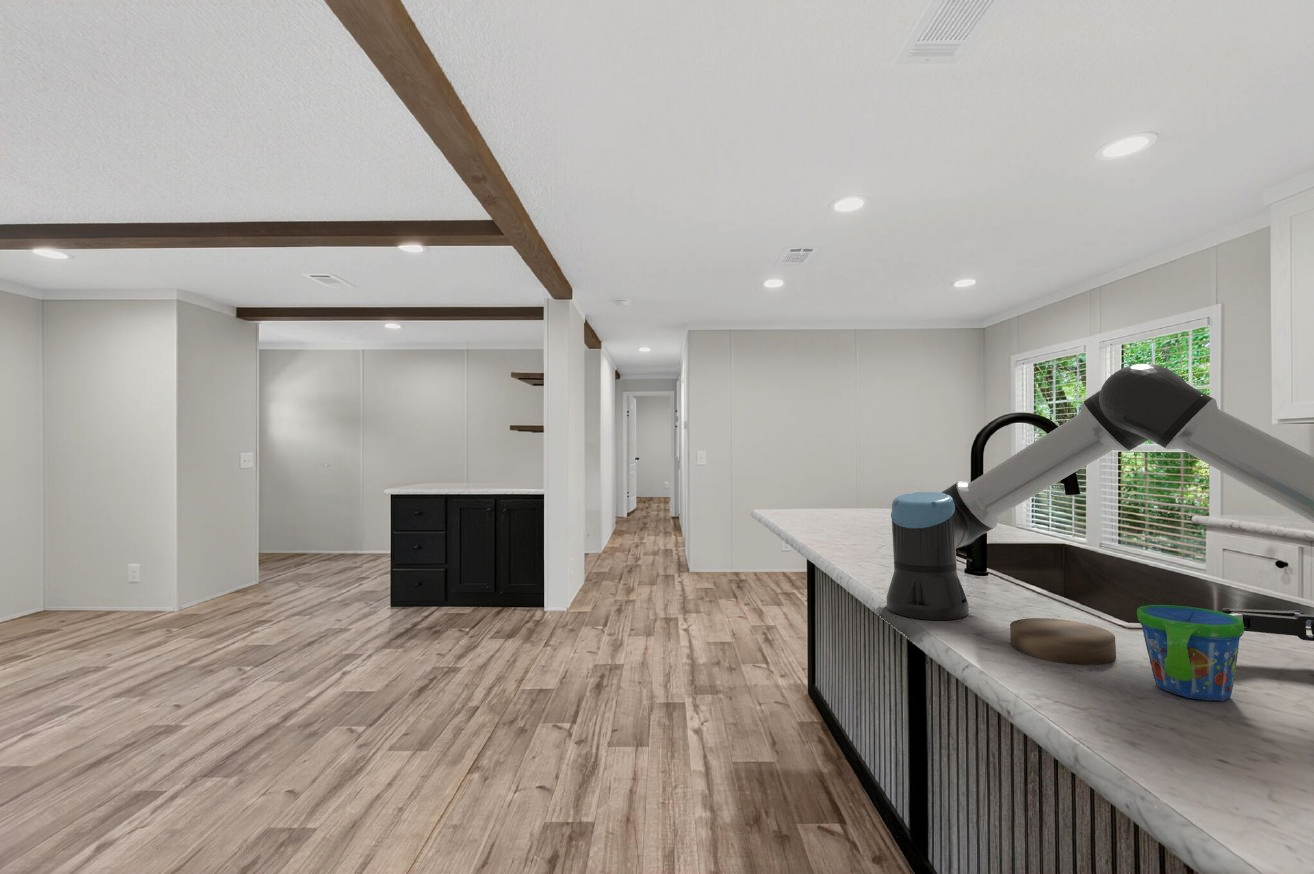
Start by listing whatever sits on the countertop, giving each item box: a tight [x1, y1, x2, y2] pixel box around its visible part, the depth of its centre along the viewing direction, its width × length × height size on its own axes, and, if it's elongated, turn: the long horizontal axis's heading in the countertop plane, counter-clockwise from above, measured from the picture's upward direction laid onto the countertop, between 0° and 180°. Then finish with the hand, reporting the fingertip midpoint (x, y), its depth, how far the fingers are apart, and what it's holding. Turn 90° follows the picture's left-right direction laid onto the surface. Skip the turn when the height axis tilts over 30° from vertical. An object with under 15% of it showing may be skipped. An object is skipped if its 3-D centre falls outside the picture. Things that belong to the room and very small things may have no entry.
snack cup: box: [1136, 604, 1245, 702], centre depth 78 cm, size 16×10×10 cm
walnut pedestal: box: [1009, 617, 1117, 666], centre depth 96 cm, size 14×14×3 cm
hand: (1254, 641), depth 80 cm, fingers open, 13 cm apart
